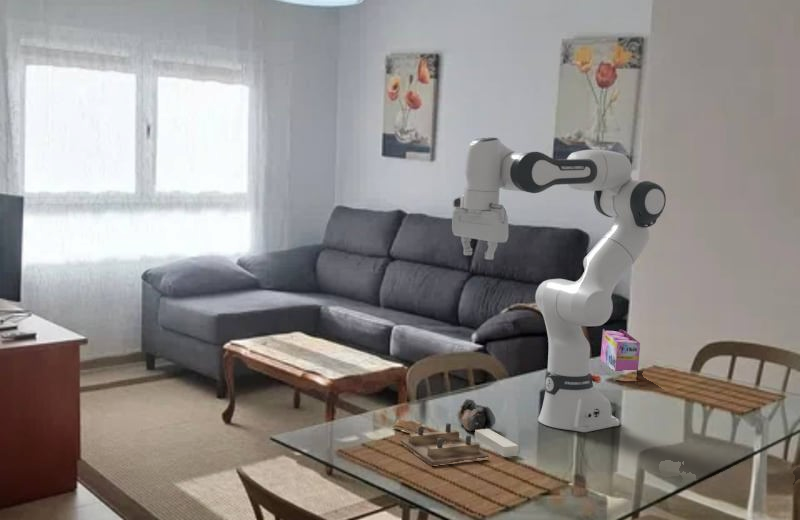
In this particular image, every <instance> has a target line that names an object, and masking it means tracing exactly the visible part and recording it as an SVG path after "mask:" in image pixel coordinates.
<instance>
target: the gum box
mask: <svg viewBox="0 0 800 520" xmlns="http://www.w3.org/2000/svg"><path fill="white" fill-rule="evenodd" d="M601 337H602V338H601V349H600V360H602V362H604V363H605V364H606V365H607V366H609V367H610V368H611V369H613V370H614V371H622V370H638V371H639V361H640V349H641V343H640V341H639V340H638V339H636V338H634V337H633V336H632V335H630V334H629V333H628V332H627V331H625V330H624V329H619V330H618V331H614V330H606V329H605V328H602V335H601Z"/></svg>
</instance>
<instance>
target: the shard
mask: <svg viewBox="0 0 800 520" xmlns="http://www.w3.org/2000/svg"><path fill="white" fill-rule="evenodd" d="M419 426H423V424H422V423H421V422H418V421H416V420H415V421H414V420H404V419H398V420H397V421H396V423H395V424H394V425H392V429H393V428H394V429H399V430H404V431H410V432H413V431H414V432H415V433H417V434H418V432H417V431H418V427H419ZM394 429H393V430H394Z"/></svg>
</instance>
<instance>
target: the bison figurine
mask: <svg viewBox="0 0 800 520" xmlns="http://www.w3.org/2000/svg"><path fill="white" fill-rule="evenodd" d="M456 417H457V420H458V421H459V423H460V424H461V425H463V428H464V429H465V430H466V429H467V431H468V430H469V431H468V432H470V431H475V430H480V429H490V430H492V429H493V427H494V425H495V424H496V417H495V415H494V413H493V411H492V410H491V408H490V407H489V406H485V405H480V404H477V403H476V402H475V400H474V399H470V398H467V399H465V400H464V401H463V403H462V404H461V405H460V407H459V409H458V411H457V413H456Z"/></svg>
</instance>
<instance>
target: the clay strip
mask: <svg viewBox="0 0 800 520" xmlns="http://www.w3.org/2000/svg"><path fill="white" fill-rule="evenodd" d="M474 438H477V439H479V440H480V441H482V442H484V443H485V444H487V445H488V446H490V447H491V448H492V449H494V450H495V451H497V452H498V453H499V454H501V455H502V456H516V457H518V455H519V454H518V453H519V445H518V444H516V443H514V442H513V441H511V440H509V439H507V438H506V437H504V436H502V435H500V434H498V433H497V432H495V431H494V430H492V429H491V430H490V429H480V430H475V432H474Z"/></svg>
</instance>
